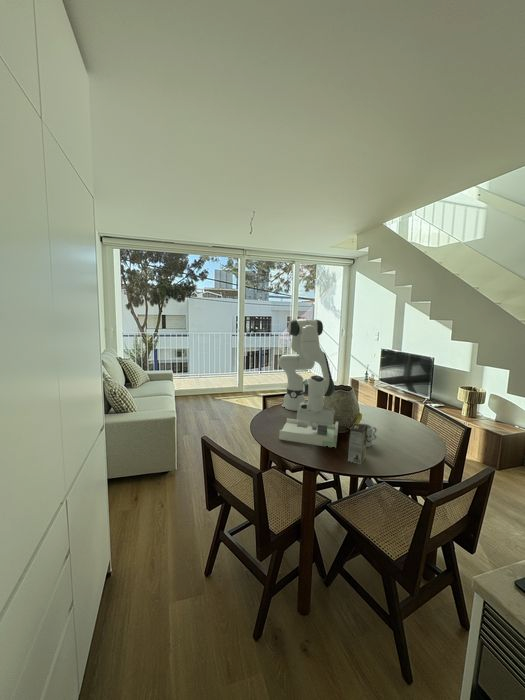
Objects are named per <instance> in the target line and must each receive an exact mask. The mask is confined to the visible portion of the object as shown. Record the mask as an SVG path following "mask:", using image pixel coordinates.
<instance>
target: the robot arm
mask: <svg viewBox="0 0 525 700" xmlns="http://www.w3.org/2000/svg"><path fill="white" fill-rule="evenodd" d="M287 330H288V334H289V335H290V336H291V345H290V348H291V350H292V351H293V352H294V353H286V354H281V355H280V357H279V358H278V363H277V364H278V366H279V367H280V369H282V370H283V371H284V372H285V374H286V376H287V377H286V378H287V388H286V393H285V395H284V397H283V399H284V400H283V403H282V404H281V407H283V408H284V407H285V408H284V409H286V410H289V411H296V412H297V413H296V420H299V421H307V422H310V425H311V427H312V430H317V427H318V426H319V423H321V424H328V425H332V424H333V425H334V420H335V419H334V416H335V413H336V411H335V409H334V407H328V406H325V397H327V398H328V397H329V398H330V397H331V396H332V395H333V394H334V392H335V390H336V387H335V386H336V385H335V383H334V380H333V378H332V373H331V368H330V364H329V361H328V357H327V354H326V352H324V351H323V349H322V348H321V346H320V338H319V336H321V335H322V333H323V331H324V324H323V322H322V320H319V319H311V318H301V319H299V318H298V319H296V318H294V319H291V320H290V321H289V322H288V325H287ZM295 353H296V354H295ZM315 363H317V364H318V365H319V366H320V370H321V374H322V376H320V375H311V376H310V378H307V379H305V380H304V378H303V376H302V375H301V374H298V373H296V371H297V370H298V371H300V370H302V371H308V370H311V369H313V368H315V367H314V366H315ZM305 396H308V397H307V400H306V398H305ZM313 422H314V423H316V426H313Z"/></svg>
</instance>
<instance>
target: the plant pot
mask: <svg viewBox="0 0 525 700" xmlns="http://www.w3.org/2000/svg"><path fill="white" fill-rule="evenodd" d="M358 412H359V416H357V417H358V418H357V420H356V422H355V423H354V424H359V423H361V421H362V418H363V414H362V412H360V411H358ZM351 428H352V427H351Z"/></svg>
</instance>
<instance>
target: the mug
mask: <svg viewBox="0 0 525 700" xmlns="http://www.w3.org/2000/svg"><path fill="white" fill-rule="evenodd" d="M359 424H360V425H366V426H368V427H367V439H366V448H370V447H372V445H373V441H375V440H376V439H377V434H376V433H377V431H378V429H377V428H376V427H375V426H372V425H371V424H368V423H363V422H362V423H361V422H360V423H359Z"/></svg>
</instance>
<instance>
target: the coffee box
mask: <svg viewBox="0 0 525 700" xmlns="http://www.w3.org/2000/svg"><path fill="white" fill-rule="evenodd" d="M367 427H368V426H366V425H360V424H354V425H353V426H352V428H351V429H350V430H349V439H348V456H347V462H349V461H350V463H352V462H353V463H354V464H356V463H357V464H356V465H362V464H363V462H364V460H365V458H366V449H367V447H366V439H367Z"/></svg>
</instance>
